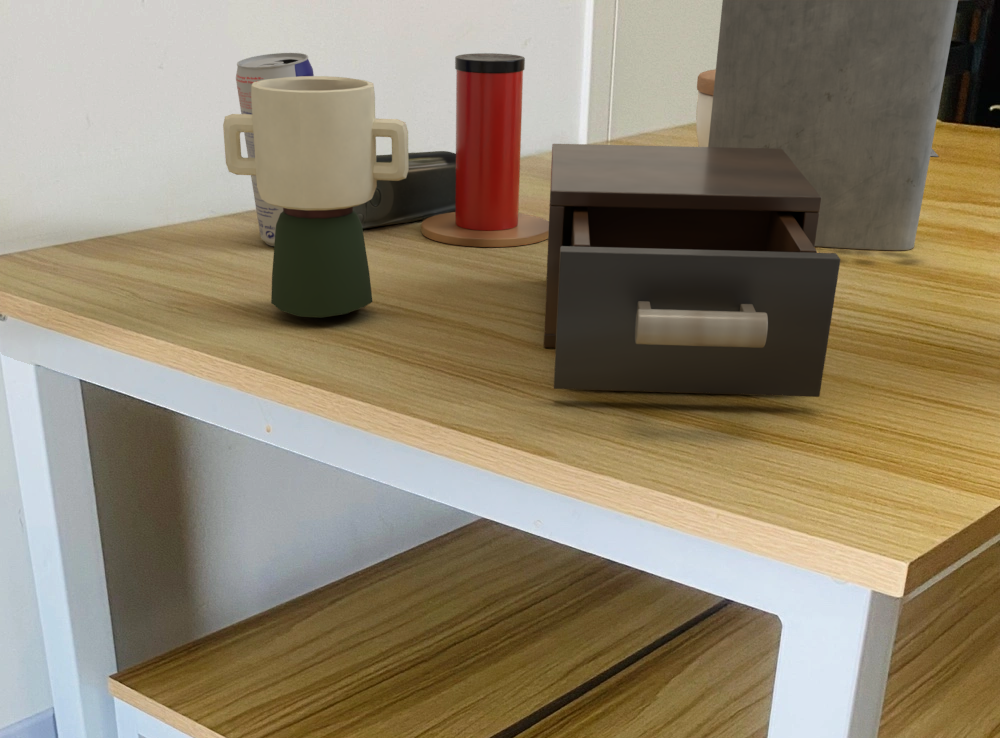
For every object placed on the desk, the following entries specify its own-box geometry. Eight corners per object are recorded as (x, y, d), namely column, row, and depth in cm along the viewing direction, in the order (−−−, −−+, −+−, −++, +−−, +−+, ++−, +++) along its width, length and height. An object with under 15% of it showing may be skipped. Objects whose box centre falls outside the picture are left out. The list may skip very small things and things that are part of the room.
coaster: (552, 219, 108) (553, 212, 108) (551, 249, 100) (552, 240, 100) (426, 216, 109) (426, 208, 109) (415, 245, 100) (415, 236, 100)
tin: (520, 217, 106) (525, 53, 100) (518, 232, 102) (524, 61, 96) (456, 216, 106) (457, 52, 100) (451, 230, 102) (452, 60, 96)
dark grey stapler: (443, 145, 110) (295, 161, 100) (469, 150, 108) (321, 167, 99) (441, 210, 112) (297, 232, 103) (467, 216, 110) (323, 239, 101)
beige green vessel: (419, 302, 87) (417, 78, 80) (399, 334, 81) (397, 94, 74) (251, 295, 88) (236, 73, 81) (220, 325, 82) (201, 88, 75)
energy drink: (348, 233, 101) (327, 55, 94) (291, 253, 98) (265, 70, 91) (302, 222, 104) (279, 49, 97) (246, 241, 101) (218, 64, 94)
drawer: (833, 426, 65) (857, 281, 62) (553, 417, 66) (560, 273, 62) (780, 318, 81) (796, 198, 78) (555, 312, 82) (560, 193, 78)
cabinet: (799, 355, 78) (821, 197, 74) (543, 347, 79) (550, 190, 74) (765, 286, 91) (782, 148, 87) (546, 280, 92) (552, 143, 88)
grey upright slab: (914, 242, 103) (969, -64, 92) (912, 254, 100) (969, -62, 89) (703, 226, 107) (732, -69, 96) (694, 237, 104) (724, -67, 93)
